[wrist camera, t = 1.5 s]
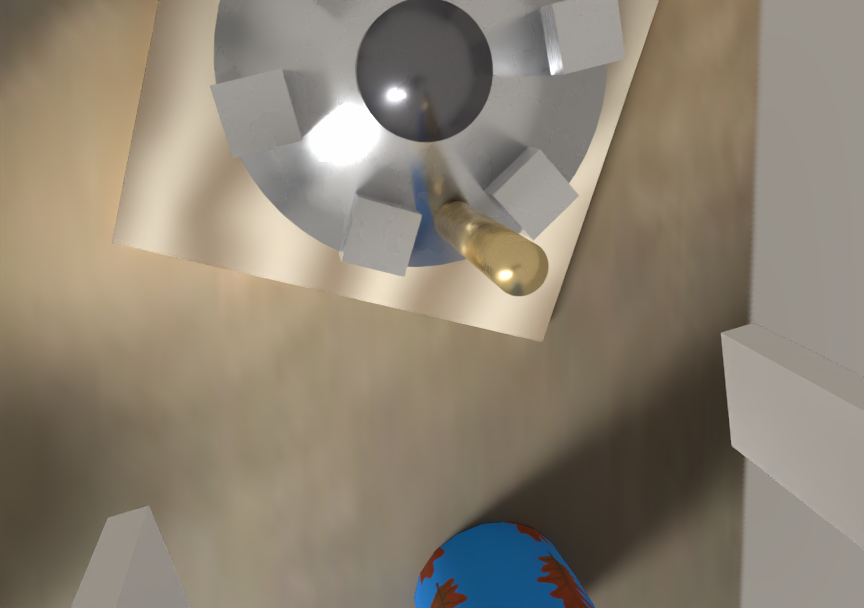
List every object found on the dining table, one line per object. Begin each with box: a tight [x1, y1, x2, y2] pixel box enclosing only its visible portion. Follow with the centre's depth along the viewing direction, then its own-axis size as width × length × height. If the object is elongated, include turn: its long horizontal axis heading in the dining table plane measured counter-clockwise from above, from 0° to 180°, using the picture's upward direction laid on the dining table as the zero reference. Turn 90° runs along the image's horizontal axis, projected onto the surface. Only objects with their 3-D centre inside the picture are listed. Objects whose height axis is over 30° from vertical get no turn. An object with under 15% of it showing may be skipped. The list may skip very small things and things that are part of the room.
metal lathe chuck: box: [210, 0, 625, 296], centre depth 29 cm, size 18×18×14 cm
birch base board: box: [112, 0, 659, 342], centre depth 37 cm, size 24×24×2 cm
